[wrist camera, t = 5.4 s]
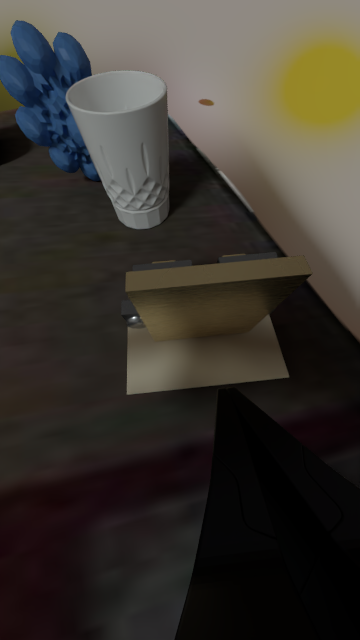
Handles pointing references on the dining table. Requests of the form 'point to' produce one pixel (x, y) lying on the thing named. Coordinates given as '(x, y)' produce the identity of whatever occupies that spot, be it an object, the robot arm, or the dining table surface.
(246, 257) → the grey two-prong bracket
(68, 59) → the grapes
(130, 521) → the dining table surface
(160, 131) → the white cup
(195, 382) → the birch board
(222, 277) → the tan notched block
